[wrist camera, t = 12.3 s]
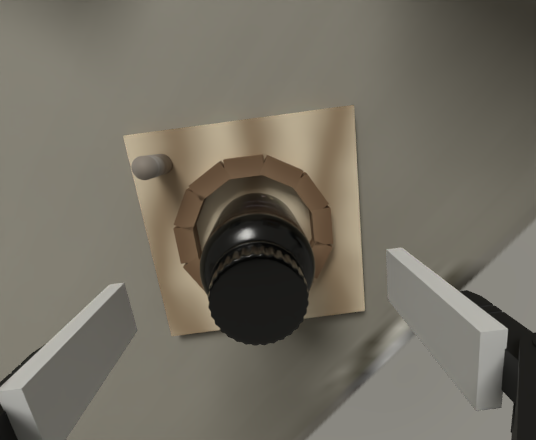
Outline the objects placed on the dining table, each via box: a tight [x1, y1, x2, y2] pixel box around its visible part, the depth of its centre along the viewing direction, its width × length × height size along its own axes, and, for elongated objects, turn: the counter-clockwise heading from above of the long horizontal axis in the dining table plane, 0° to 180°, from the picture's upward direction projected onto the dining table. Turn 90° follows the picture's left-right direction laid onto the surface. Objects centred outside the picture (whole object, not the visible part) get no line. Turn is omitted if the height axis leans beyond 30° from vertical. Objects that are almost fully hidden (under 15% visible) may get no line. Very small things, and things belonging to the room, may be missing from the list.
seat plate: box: [123, 105, 365, 336], centre depth 24 cm, size 18×18×5 cm
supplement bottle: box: [200, 193, 315, 345], centre depth 20 cm, size 7×7×12 cm
